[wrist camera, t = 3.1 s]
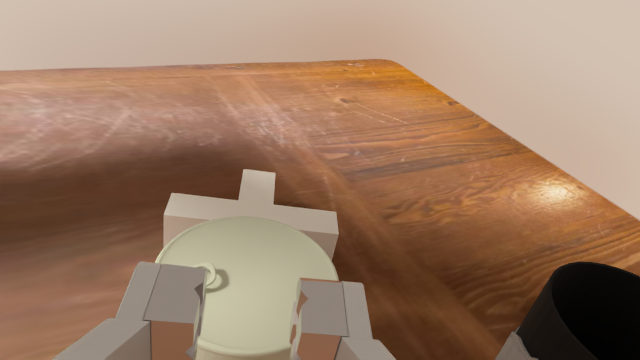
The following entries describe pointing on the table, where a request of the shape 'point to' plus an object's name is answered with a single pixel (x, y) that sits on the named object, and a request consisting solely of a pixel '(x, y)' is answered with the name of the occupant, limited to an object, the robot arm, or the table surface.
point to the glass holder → (581, 317)
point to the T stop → (250, 211)
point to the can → (248, 283)
